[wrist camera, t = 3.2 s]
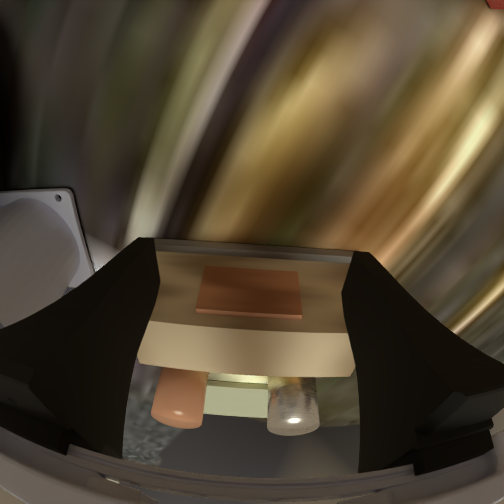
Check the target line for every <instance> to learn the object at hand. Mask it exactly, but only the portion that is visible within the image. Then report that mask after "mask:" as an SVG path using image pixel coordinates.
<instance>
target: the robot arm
mask: <svg viewBox="0 0 504 504" xmlns="http://www.w3.org/2000/svg"><path fill="white" fill-rule="evenodd" d="M58 195H60V196H61V199H60V198H59V196H58ZM160 282H161V280H160V274H159V268H158V262H157V256H156V249H155V242H154V238H141V237H138V238H137V239H136V240H134V241H133V242H132V243H131V244H129V245H128V246H127V247H126V248H124V249H123V250H122V251H121V252H120V253H119V254H117V255H116V256H115V257H114V258H113V259H111V260H110V261H109V262H108V263H107V264H105V265H104V266H103V267H102V268H101V269H99V270H98V271H97V272H95V273H94V271H93V268H92V264H91V261H90V258H89V254H88V251H87V248H86V244H85V240H84V237H83V233H82V229H81V225H80V222H79V218H78V213H77V209H76V205H75V201H74V196H73V193H72V192H71V190H69V189H67V188H55V189H30V190H12V191H0V487H1V488H2V489H4V490H5V491H7V492H8V493H10V494H12V495H13V496H15V497H16V498H18V499H20V500H21V501H23V502H25V503H27V504H159V501H158V500H156V499H153V498H151V497H148V496H146V495H144V494H142V492H141V491H140V490H137V489H134V488H131V487H128V486H125V485H122V484H119V483H116V482H113V481H110V480H107V479H111V480H114V481H118V482H122V483H125V484H130V485H133V486H138V487H142V488H147V489H151V490H156V491H161V492H166V493H173V494H179V495H185V496H192V497H200V498H208V499H217V500H229V501H246V502H298V501H299V502H300V501H317V500H328V499H338V498H346V497H353V496H361V495H366V496H362V497H357V498H352V499H347V500H342V501H339V502H338V503H337V504H496V503H497V502H499V501H501V500H502V499H504V430H503V431H500V432H498V433H496V434H494V435H492V436H491V434H490V431H489V429H491V428H493V425H494V424H493V421H492V417H493V416H494V415H495V414H497V413H498V412H499V411H500V410H501V409H503V408H504V364H503V363H501V362H499V361H497V360H495V359H494V358H492V357H490V356H488V355H486V354H484V353H483V352H481V351H480V350H478V349H476V348H475V347H473V346H472V345H470V344H469V343H467V342H466V341H464V340H463V339H461V338H460V337H459V336H457V335H456V334H454V333H453V332H452V331H450V330H449V329H448V328H447V327H445V326H444V325H443V324H442V323H440V322H439V321H438V320H437V319H436V318H434V317H433V316H432V315H431V314H430V313H429V312H428V311H426V310H425V309H424V308H423V307H422V306H421V305H420V304H419V303H418V302H417V301H416V300H415V299H414V298H413V297H412V296H411V295H410V294H409V293H408V292H407V291H406V290H405V289H404V288H403V287H402V286H401V285H400V284H399V283H398V282H397V281H396V280H395V279H394V277H393V276H392V275H391V274H390V273H389V272H388V271H387V270H386V269H385V268H384V267H383V266H382V265H381V264H380V262H379V261H378V260H377V259H376V258H375V257H374V256H373V255H372V254H370V253H369V252H359V251H354V252H353V255H352V259H351V262H350V265H349V269H348V272H347V275H346V279H345V282H344V285H343V288H342V291H341V297H342V306H343V314H344V320H345V324H346V328H347V332H348V337H349V341H350V345H351V349H352V353H353V358H354V362H355V367H356V373H357V381H358V392H359V407H360V453H359V467H358V474H350V475H340V476H329V477H315V478H287V479H268V478H266V479H264V478H240V477H226V476H214V475H205V474H197V473H189V472H182V471H176V470H170V469H164V468H159V467H154V466H149V465H144V464H139V463H135V462H130V461H126V460H122V459H121V458H122V447H123V433H124V423H125V414H126V406H127V400H128V394H129V388H130V383H131V378H132V373H133V368H134V364H135V360H136V357H137V353H138V350H139V348H140V345H141V342H142V339H143V336H144V334H145V331H146V328H147V326H148V323H149V320H150V317H151V315H152V312H153V309H154V306H155V303H156V299H157V295H158V291H159V287H160ZM67 287H75V289H73V290H72V291H70V292H69V293H67V294H66V295H64V296H63V297H62V295H63V293H64V292H65V290H66V288H67ZM106 478H107V479H106ZM373 493H374V494H373ZM367 494H370V495H367Z"/></svg>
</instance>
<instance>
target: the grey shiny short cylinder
mask: <svg viewBox="0 0 504 504" xmlns="http://www.w3.org/2000/svg"><path fill="white" fill-rule="evenodd" d="M318 427H319V413H318V401H317V390H316V379H315V377H280V376H268V416H267V429H268V430H269V431H270V432H272V433H274V434H278V435H287V436H291V435H301V434H306V433H309V432H312V431H314V430H316V429H317V428H318Z"/></svg>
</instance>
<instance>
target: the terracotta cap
mask: <svg viewBox="0 0 504 504" xmlns="http://www.w3.org/2000/svg"><path fill="white" fill-rule="evenodd" d="M208 374H209V372H204V371H194V370H185V369H177V368H169V367H162V368H161V372H160V377H159V381H158V385H157V389H156V393H155V398H154V402H153V406H152V411H151V415H152V416H153V417H154V418H155V419H156V420H158V421H159V422H161V423H164V424H166V425H169V426H173V427H178V428H197V427H199V426H201V424H202V418H203V411H204V403H205V396H206V389H207V381H208Z"/></svg>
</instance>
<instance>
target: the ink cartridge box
mask: <svg viewBox="0 0 504 504" xmlns="http://www.w3.org/2000/svg"><path fill="white" fill-rule="evenodd" d="M486 1H487V3H488V4H489V6H490V8H491V9H504V0H486Z"/></svg>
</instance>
